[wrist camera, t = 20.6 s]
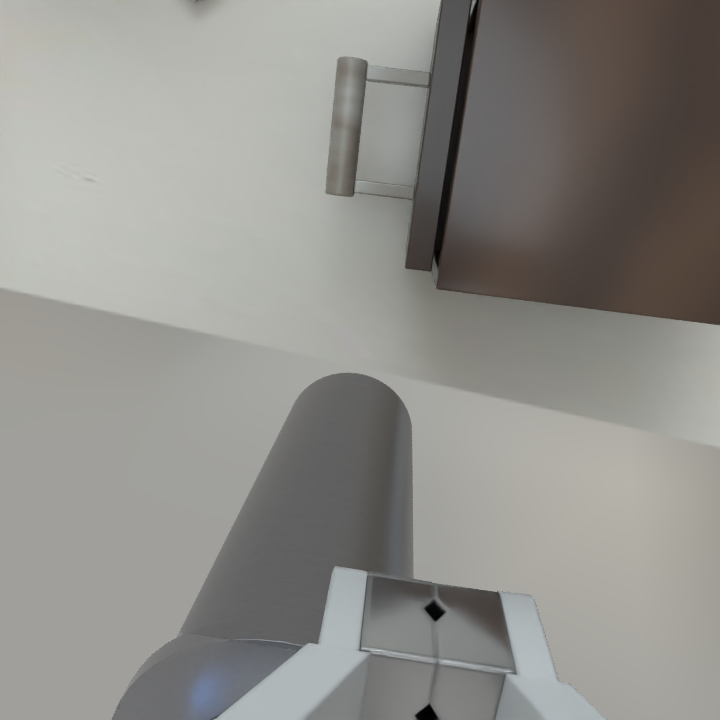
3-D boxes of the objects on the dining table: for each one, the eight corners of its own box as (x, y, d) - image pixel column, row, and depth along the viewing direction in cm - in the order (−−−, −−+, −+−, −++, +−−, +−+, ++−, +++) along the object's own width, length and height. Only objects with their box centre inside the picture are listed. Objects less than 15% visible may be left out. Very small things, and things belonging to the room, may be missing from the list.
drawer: (329, 240, 34) (310, 256, 27) (351, 13, 30) (336, -31, 24) (649, 280, 33) (708, 307, 26) (709, 52, 29) (795, 17, 23)
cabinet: (429, 261, 34) (435, 289, 26) (466, 16, 30) (486, -42, 22) (686, 293, 34) (774, 332, 26) (756, 47, 30) (887, 0, 22)
